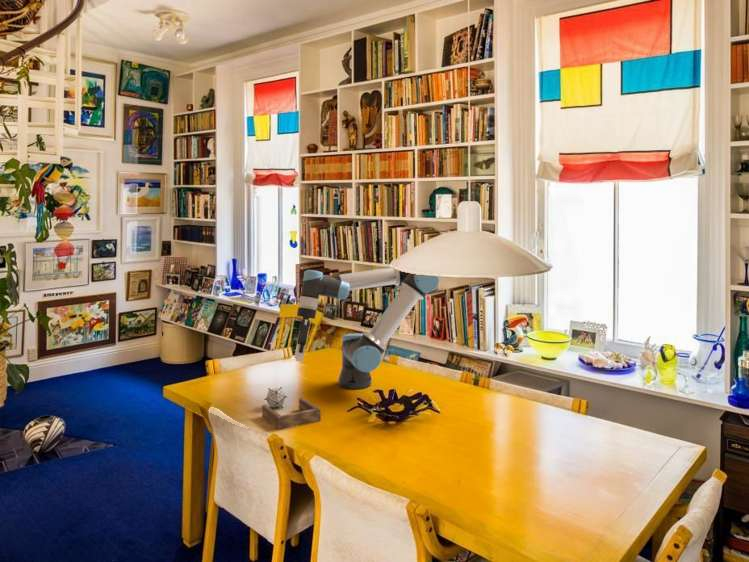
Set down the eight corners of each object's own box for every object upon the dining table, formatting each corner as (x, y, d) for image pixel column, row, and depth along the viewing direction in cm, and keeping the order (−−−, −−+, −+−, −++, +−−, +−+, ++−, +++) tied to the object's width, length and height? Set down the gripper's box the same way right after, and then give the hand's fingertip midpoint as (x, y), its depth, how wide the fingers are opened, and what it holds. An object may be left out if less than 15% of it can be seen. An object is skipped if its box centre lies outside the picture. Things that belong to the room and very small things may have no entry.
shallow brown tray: (302, 408, 236) (302, 397, 235) (320, 420, 223) (320, 409, 223) (262, 416, 227) (262, 405, 226) (278, 429, 214) (278, 417, 213)
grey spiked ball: (278, 418, 236) (281, 403, 229) (259, 409, 237) (261, 394, 230) (289, 401, 242) (291, 386, 236) (270, 392, 244) (272, 378, 237)
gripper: (297, 306, 254) (288, 356, 252) (299, 306, 229) (290, 360, 228) (314, 309, 255) (306, 358, 253) (318, 309, 230) (309, 363, 229)
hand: (298, 359), depth 240 cm, fingers open, 13 cm apart
